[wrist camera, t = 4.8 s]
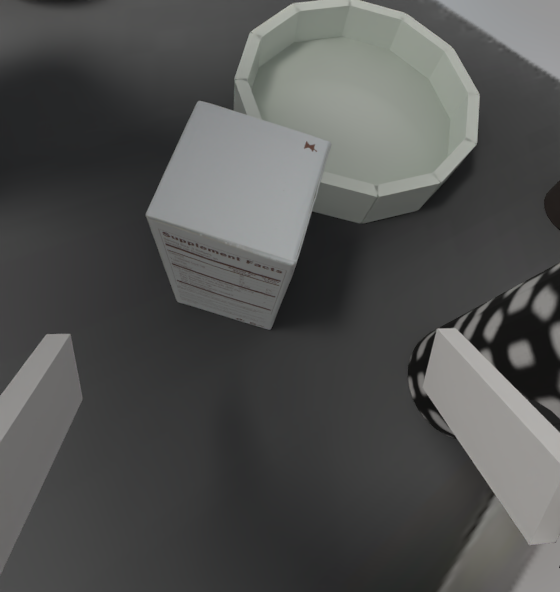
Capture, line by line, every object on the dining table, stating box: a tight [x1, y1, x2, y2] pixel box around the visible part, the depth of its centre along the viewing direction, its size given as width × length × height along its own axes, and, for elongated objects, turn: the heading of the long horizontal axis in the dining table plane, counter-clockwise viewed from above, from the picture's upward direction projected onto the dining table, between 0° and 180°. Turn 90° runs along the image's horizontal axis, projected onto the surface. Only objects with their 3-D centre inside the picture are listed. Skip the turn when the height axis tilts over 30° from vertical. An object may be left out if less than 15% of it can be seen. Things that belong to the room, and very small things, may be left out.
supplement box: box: [145, 101, 331, 330], centre depth 26 cm, size 7×7×13 cm
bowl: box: [234, 0, 480, 224], centre depth 36 cm, size 20×20×4 cm
